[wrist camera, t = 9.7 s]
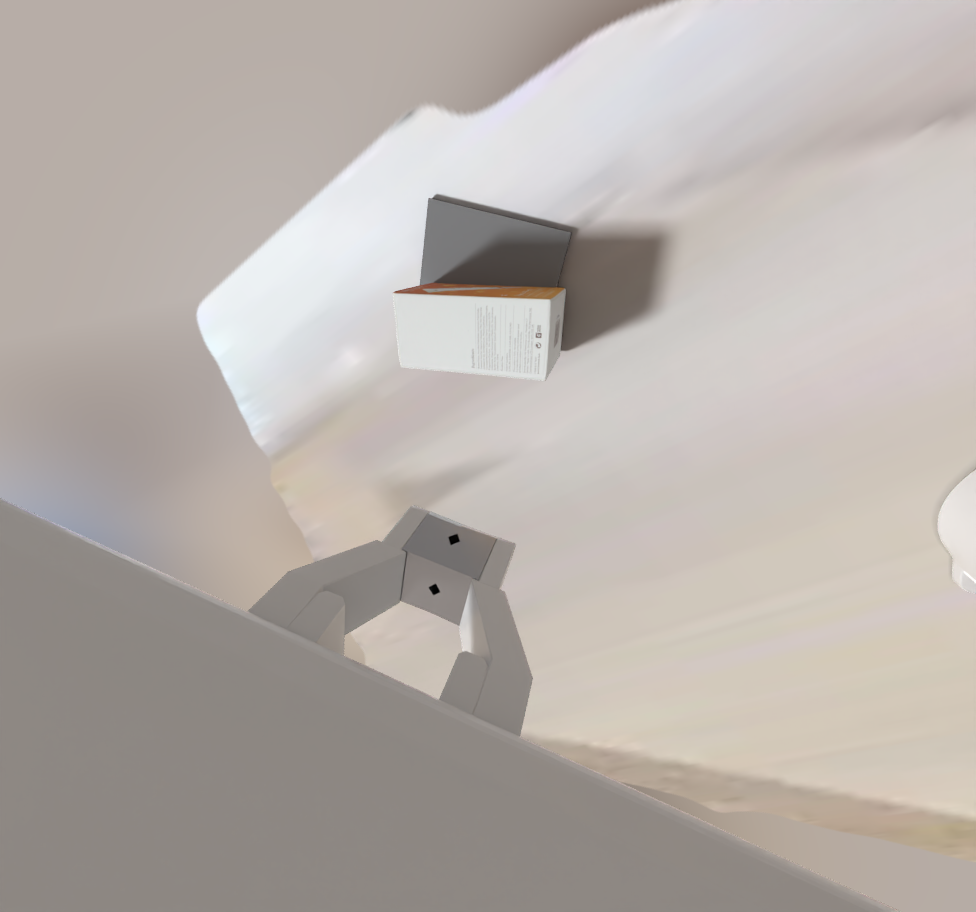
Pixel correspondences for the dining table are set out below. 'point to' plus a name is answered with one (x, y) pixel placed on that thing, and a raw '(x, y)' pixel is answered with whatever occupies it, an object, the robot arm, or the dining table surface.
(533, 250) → the mat
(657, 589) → the dining table surface
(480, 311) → the small box
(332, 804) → the robot arm
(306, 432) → the dining table surface
